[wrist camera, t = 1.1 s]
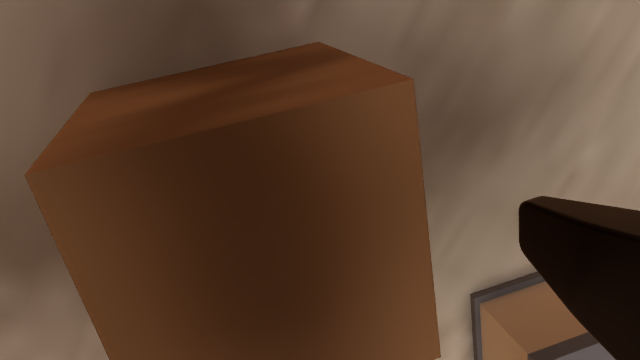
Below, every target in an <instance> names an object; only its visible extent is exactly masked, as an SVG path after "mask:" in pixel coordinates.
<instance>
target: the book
mask: <svg viewBox="0 0 640 360" xmlns="http://www.w3.org/2000/svg"><path fill="white" fill-rule="evenodd" d="M470 297H471V313H472V330H473V346H474V360H615V359H614V358H613V356H612V355H611V354H610V353H609V352H608V351H607V350H606V349H605V348H604V347H603V346H602V345H601V344H600V343H599V342H598V341H597V340H596V339H595V338H594V337H593V336H592V335H591V334H590V333H589V332H588V331H587V330H586V329H585V328H584V327H583V326H582V325H581V323H580V322H579V321H578V320H577V319H576V318H575V317H574V316H573V315H572V313H571V312H570V311H569V310H568V309H567V308H566V306H565V305H564V304H563V303H562V301H561V300H560V299H559V298H558V296H557V295H556V294H555V293H554V291H553V290H552V289H551V288H550V286H549V285H548V284H547V283H546V281H545V280H544V279H543V277H542V276H541V275H540V274H539V272H535V273H532V274H529V275H526V276H523V277H521V278H518V279H515V280H512V281H509V282H506V283H503V284H500V285H497V286H494V287H491V288H488V289H485V290H482V291H479V292H476V293H473V294H470Z"/></svg>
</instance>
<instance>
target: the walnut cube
mask: <svg viewBox="0 0 640 360" xmlns="http://www.w3.org/2000/svg"><path fill="white" fill-rule="evenodd" d="M25 177H26V179H27V182H28V184H29V186H30V188H31V190H32V192H33V195H34V197H35V199H36V201H37V203H38V205H39V208H40V210H41V212H42V214H43V216H44V218H45V221H46V223H47V225H48V227H49V229H50V231H51V234H52V236H53V238H54V240H55V242H56V244H57V247H58V249H59V251H60V253H61V255H62V258H63V260H64V262H65V264H66V266H67V268H68V271H69V273H70V275H71V277H72V279H73V281H74V284H75V286H76V288H77V290H78V292H79V294H80V297H81V299H82V301H83V303H84V305H85V307H86V310H87V312H88V314H89V316H90V318H91V320H92V323H93V325H94V327H95V329H96V331H97V333H98V336H99V338H100V340H101V342H102V344H103V346H104V349H105V351H106V353H107V355H108V357H109V359H110V360H434V359H437V358H439V357H441V354H440V344H439V334H438V324H437V314H436V303H435V293H434V283H433V273H432V263H431V252H430V242H429V232H428V222H427V211H426V201H425V191H424V181H423V171H422V160H421V150H420V140H419V130H418V119H417V109H416V99H415V89H414V79H412V78H409V77H407V76H404V75H402V74H399V73H397V72H394V71H391V70H389V69H386V68H384V67H381V66H379V65H376V64H374V63H371V62H369V61H366V60H364V59H361V58H359V57H356V56H353V55H351V54H348V53H346V52H343V51H341V50H338V49H336V48H333V47H331V46H328V45H326V44H323V43H321V42H316V43H312V44H307V45H303V46H298V47H294V48H289V49H285V50H280V51H276V52H271V53H267V54H263V55H258V56H254V57H249V58H245V59H240V60H236V61H231V62H227V63H222V64H218V65H213V66H209V67H204V68H200V69H195V70H191V71H187V72H182V73H178V74H173V75H169V76H164V77H160V78H155V79H151V80H146V81H142V82H137V83H133V84H128V85H124V86H119V87H115V88H110V89H106V90H102V91H97V92H93V93H90V94H89V95H88V96H87V98H86V99H85V100H84V101H83V103H82V104H81V105H80V106H79V108H78V109H77V110H76V111H75V113H74V114H73V115H72V116H71V118H70V119H69V120H68V121H67V123H66V124H65V125H64V126H63V128H62V129H61V130H60V131H59V133H58V134H57V135H56V136H55V138H54V139H53V140H52V141H51V143H50V144H49V145H48V146H47V148H46V149H45V150H44V151H43V153H42V154H41V155H40V156H39V157H38V159H37V160H36V161H35V162H34V164H33V165H32V166H31V167H30V169H29V170H28V171H27V172H26V174H25Z"/></svg>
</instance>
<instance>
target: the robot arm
mask: <svg viewBox="0 0 640 360" xmlns="http://www.w3.org/2000/svg"><path fill="white" fill-rule="evenodd" d="M519 243H520V247H521V250H522V252H523V253H524V255H525V256H526V257H527V259H528V260H529V261H530V262H531V264H532V265H533V266H534V267H535V269H536V270H537V271H538V272H539V274H540V275H541V276H542V277H543V279H544V280H545V281H546V283H547V284H548V285H549V286H550V288H551V289H552V290H553V291H554V293H555V294H556V295H557V296H558V298H559V299H560V300H561V301H562V303H563V304H564V305H565V306H566V308H567V309H568V310H569V311H570V312H571V313H572V315H573V316H574V317H575V318H576V319H577V320H578V321H579V322H580V323H581V325H582V326H583V327H584V328H585V329H586V330H587V331H588V332H589V333H590V334H591V335H592V336H593V337H594V338H595V339H596V340H597V341H598V342H599V343H600V344H601V345H602V346H603V347H604V348H605V349H606V350H607V351H608V352H609V353H610V354H611V355H612V356H613V358H614V359H615V360H640V211H638V210H631V209H625V208H618V207H612V206H605V205H599V204H592V203H586V202H579V201H573V200H566V199H560V198H553V197H547V196H540V197H536V198H533V199H530V200H527V201H524V202H522V203H521V205H520V207H519Z"/></svg>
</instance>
